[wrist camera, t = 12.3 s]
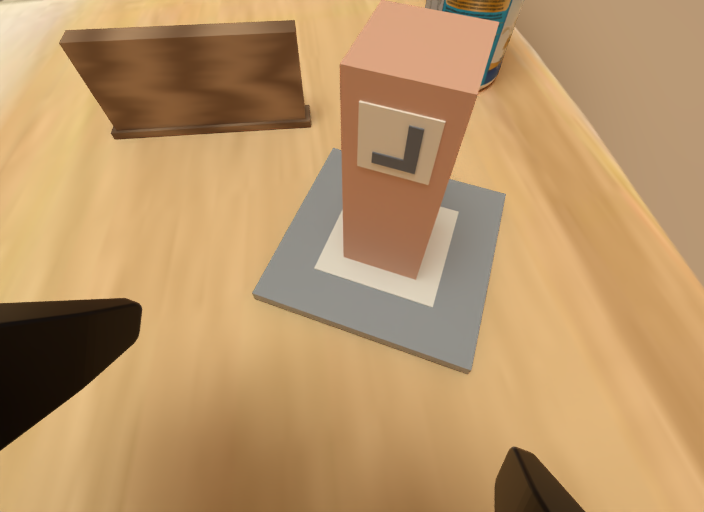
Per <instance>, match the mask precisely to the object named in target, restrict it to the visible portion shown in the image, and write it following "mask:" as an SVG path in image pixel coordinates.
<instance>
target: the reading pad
mask: <svg viewBox="0 0 704 512" xmlns="http://www.w3.org/2000/svg"><path fill="white" fill-rule="evenodd" d="M505 196H506V194H504V193H500V192H496V191H492V190H489V189H485V188H481V187H477V186H474V185H470V184H466V183H462V182H459V181H455V180H451V179H449V182H448V185H447V188H446V191H445V194H444V197H443V200H442V203H441V206H440V209H439V212H438V215H437V218H436V221H435V224H434V227H433V230H432V233H431V236H430V239H429V242H428V245H427V248H426V251H425V254H424V257H423V260H422V263H421V266H420V269H419V272H418V275H417V278H416V280H415V279H411V278H408V277H405V276H402V275H399V274H396V273H392V272H389V271H386V270H383V269H380V268H377V267H374V266H370V265H367V264H364V263H361V262H358V261H355V260H352V259H348V258H345V257H344V253H343V202H342V151H341V150H339V149H335V148H333V149H332V151H331V153H330V155H329V157H328V158H327V160H326V162H325V164H324V166H323V167H322V169H321V171H320V173H319V174H318V176H317V178H316V180H315V182H314V183H313V185H312V187H311V189H310V191H309V192H308V194H307V196H306V198H305V200H304V201H303V203H302V205H301V207H300V208H299V210H298V212H297V214H296V216H295V217H294V219H293V221H292V223H291V225H290V226H289V228H288V230H287V232H286V234H285V235H284V237H283V239H282V241H281V242H280V244H279V246H278V248H277V250H276V251H275V253H274V255H273V257H272V259H271V260H270V262H269V264H268V266H267V268H266V269H265V271H264V273H263V275H262V276H261V278H260V280H259V282H258V284H257V285H256V287H255V289H254V291H253V293H252V294H253V296H254V298H255V299H257V300H260V301H263V302H266V303H269V304H272V305H274V306H277V307H280V308H283V309H286V310H288V311H291V312H294V313H297V314H300V315H303V316H305V317H308V318H311V319H314V320H317V321H319V322H322V323H325V324H328V325H331V326H334V327H336V328H339V329H342V330H345V331H348V332H350V333H353V334H356V335H359V336H362V337H365V338H367V339H370V340H373V341H376V342H379V343H381V344H384V345H387V346H390V347H393V348H396V349H398V350H401V351H404V352H407V353H410V354H412V355H415V356H418V357H421V358H424V359H427V360H429V361H432V362H435V363H438V364H441V365H443V366H446V367H449V368H452V369H455V370H458V371H460V372H463V373H466V374H468V373H469V372H470V371H471V369H472V364H473V359H474V354H475V349H476V344H477V338H478V333H479V328H480V323H481V318H482V313H483V308H484V303H485V298H486V292H487V287H488V282H489V277H490V272H491V267H492V262H493V257H494V252H495V247H496V241H497V236H498V231H499V226H500V221H501V216H502V211H503V206H504V201H505Z"/></svg>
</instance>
